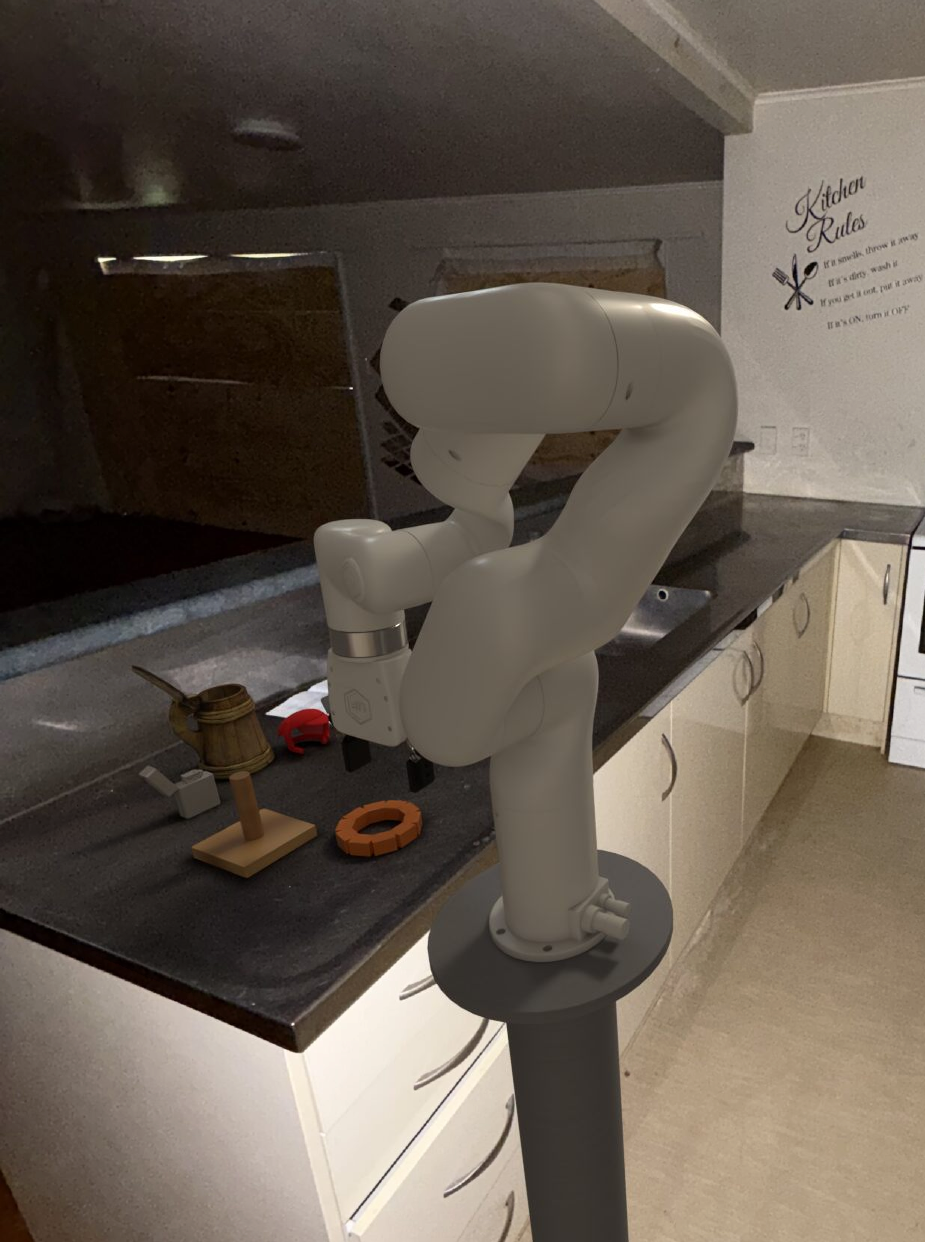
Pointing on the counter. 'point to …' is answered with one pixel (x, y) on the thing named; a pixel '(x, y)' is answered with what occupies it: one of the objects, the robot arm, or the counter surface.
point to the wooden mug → (218, 727)
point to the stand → (252, 834)
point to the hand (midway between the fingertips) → (390, 776)
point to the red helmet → (305, 727)
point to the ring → (381, 841)
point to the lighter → (186, 790)
